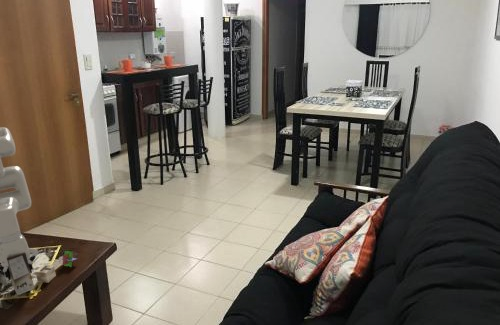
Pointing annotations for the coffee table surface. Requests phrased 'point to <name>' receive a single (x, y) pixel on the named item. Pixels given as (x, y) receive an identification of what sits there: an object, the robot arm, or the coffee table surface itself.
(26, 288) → the coffee box
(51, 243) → the coffee table surface
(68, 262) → the geometric puzzle
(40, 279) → the letter block
